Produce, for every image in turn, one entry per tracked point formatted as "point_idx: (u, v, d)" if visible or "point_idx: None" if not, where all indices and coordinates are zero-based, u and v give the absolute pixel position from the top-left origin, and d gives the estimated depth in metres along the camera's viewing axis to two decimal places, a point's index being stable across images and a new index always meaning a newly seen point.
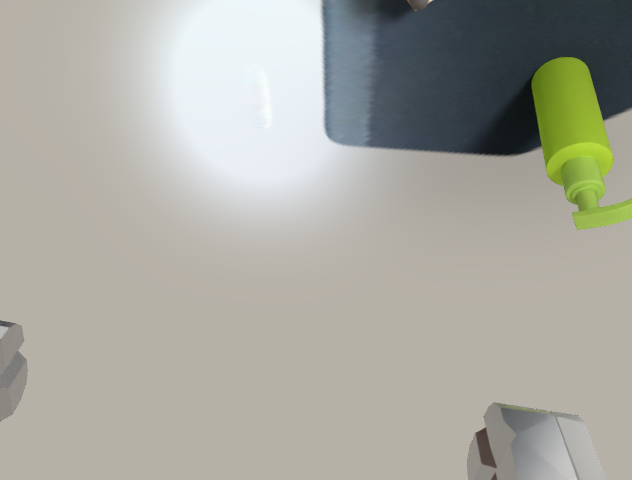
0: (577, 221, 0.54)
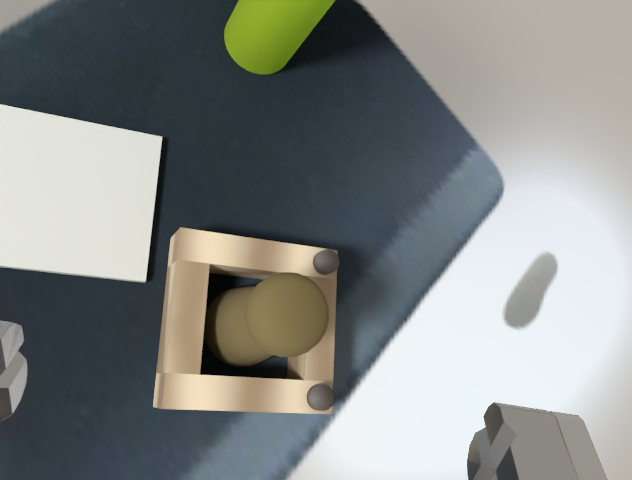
0: None
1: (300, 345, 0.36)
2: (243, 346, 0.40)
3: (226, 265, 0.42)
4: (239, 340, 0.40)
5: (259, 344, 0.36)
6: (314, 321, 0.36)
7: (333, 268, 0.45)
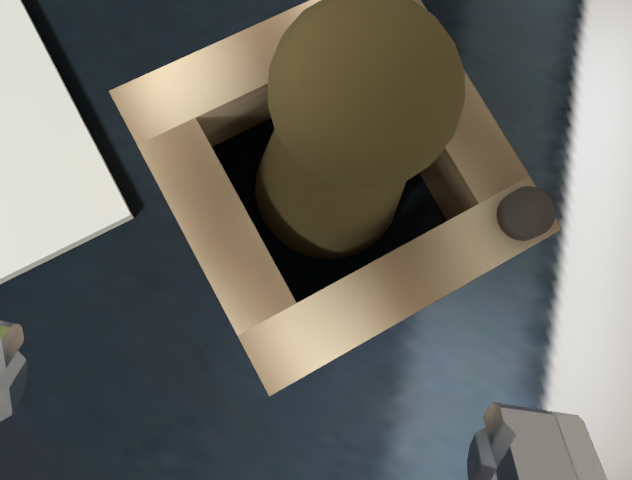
0: None
1: (428, 128, 0.15)
2: (334, 212, 0.20)
3: (225, 103, 0.22)
4: (318, 206, 0.19)
5: (346, 180, 0.15)
6: (426, 59, 0.15)
7: None
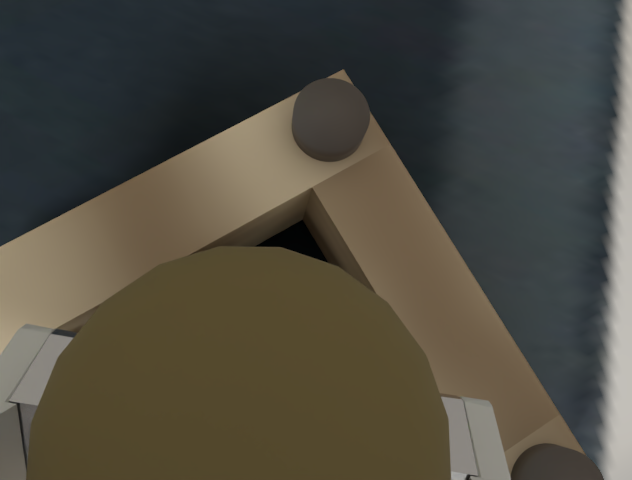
0: None
1: None
2: None
3: (70, 319, 0.14)
4: None
5: None
6: (359, 452, 0.06)
7: (358, 123, 0.14)
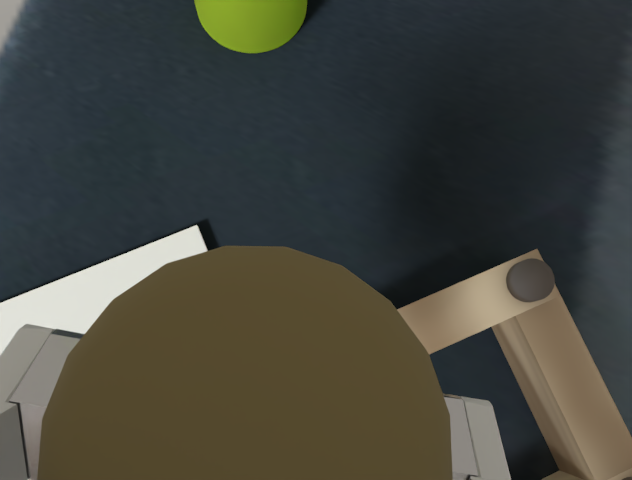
0: None
1: None
2: None
3: None
4: None
5: None
6: (363, 447, 0.07)
7: (548, 286, 0.26)
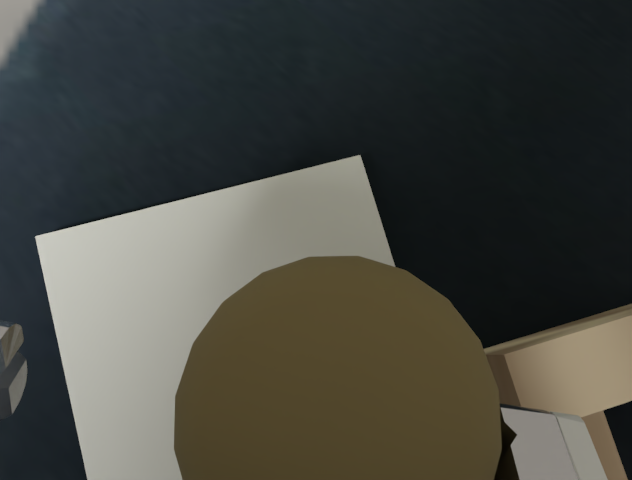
0: None
1: None
2: None
3: None
4: None
5: None
6: (423, 420, 0.08)
7: None
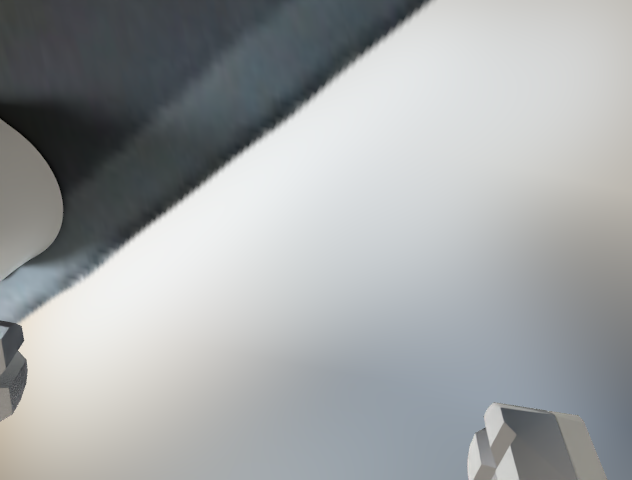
0: None
1: None
2: None
3: None
4: None
5: None
6: None
7: None
